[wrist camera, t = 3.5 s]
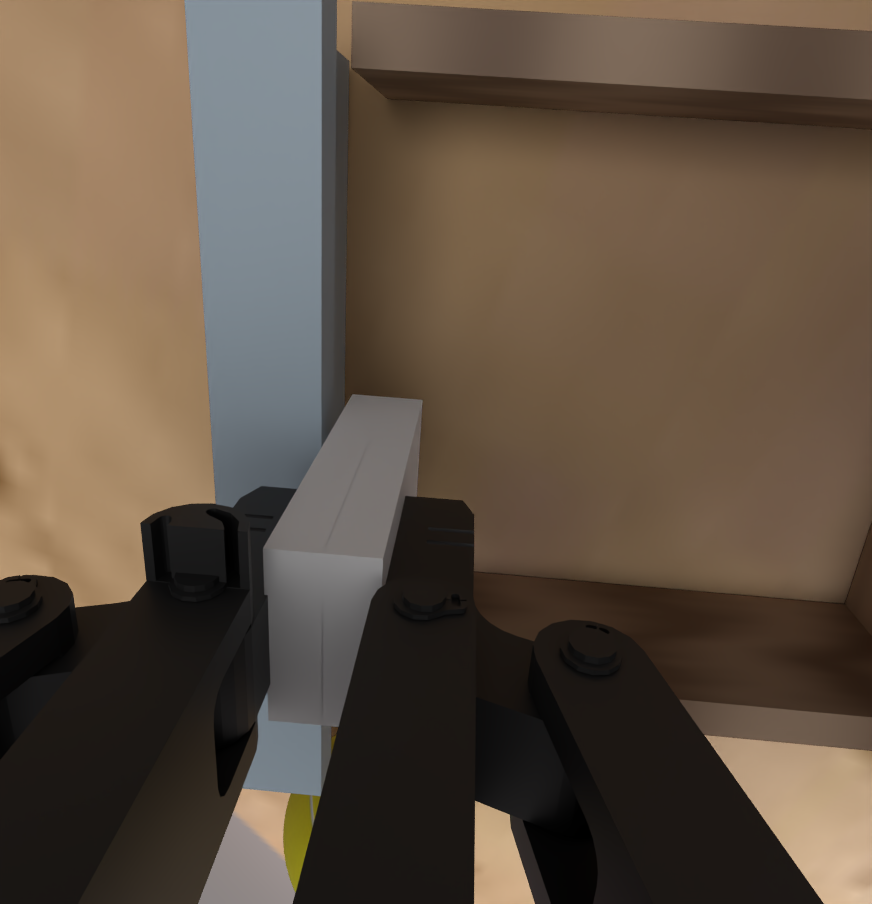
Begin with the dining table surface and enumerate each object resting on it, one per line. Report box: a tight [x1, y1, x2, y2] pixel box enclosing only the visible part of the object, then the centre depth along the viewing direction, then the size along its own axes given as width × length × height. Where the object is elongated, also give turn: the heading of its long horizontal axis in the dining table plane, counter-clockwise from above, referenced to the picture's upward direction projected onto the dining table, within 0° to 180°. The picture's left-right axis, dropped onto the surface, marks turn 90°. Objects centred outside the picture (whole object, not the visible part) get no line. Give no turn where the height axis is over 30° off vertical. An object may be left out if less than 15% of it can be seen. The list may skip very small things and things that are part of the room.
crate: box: [351, 1, 872, 751], centre depth 19 cm, size 19×18×8 cm
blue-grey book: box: [185, 0, 349, 796], centre depth 18 cm, size 2×17×9 cm, turn 176°
